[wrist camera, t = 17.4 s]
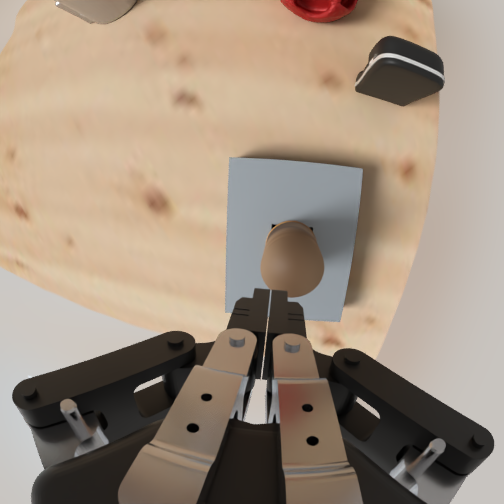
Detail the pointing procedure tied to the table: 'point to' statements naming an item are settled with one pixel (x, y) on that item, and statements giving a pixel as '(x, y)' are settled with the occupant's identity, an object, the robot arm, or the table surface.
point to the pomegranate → (320, 9)
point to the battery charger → (400, 72)
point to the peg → (292, 259)
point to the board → (291, 209)
